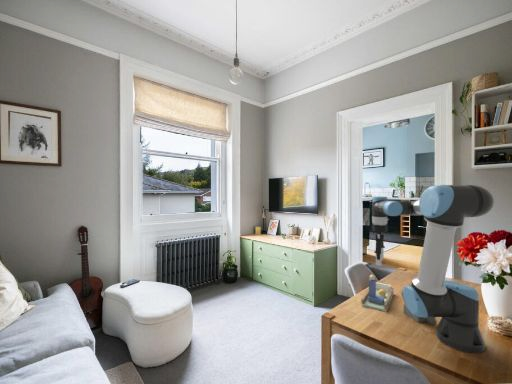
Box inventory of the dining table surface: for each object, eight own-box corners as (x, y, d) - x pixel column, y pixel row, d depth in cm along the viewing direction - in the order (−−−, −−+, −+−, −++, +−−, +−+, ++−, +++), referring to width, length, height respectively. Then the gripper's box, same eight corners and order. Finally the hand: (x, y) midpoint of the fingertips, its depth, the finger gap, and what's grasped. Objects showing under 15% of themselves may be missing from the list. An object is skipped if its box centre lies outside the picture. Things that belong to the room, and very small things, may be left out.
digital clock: (438, 325, 113) (438, 302, 113) (419, 326, 113) (419, 302, 113) (414, 309, 130) (414, 288, 130) (397, 309, 129) (397, 288, 129)
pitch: (386, 311, 127) (386, 299, 127) (361, 305, 133) (361, 294, 133) (393, 294, 149) (393, 283, 149) (371, 289, 156) (371, 279, 156)
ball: (385, 298, 140) (385, 291, 140) (377, 296, 143) (377, 289, 143) (386, 295, 143) (386, 288, 143) (379, 294, 146) (379, 287, 146)
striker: (382, 304, 132) (382, 278, 132) (368, 301, 136) (368, 275, 136) (384, 300, 137) (384, 275, 137) (370, 297, 141) (370, 272, 141)
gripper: (385, 227, 126) (385, 269, 126) (388, 222, 148) (388, 258, 148) (369, 226, 130) (369, 266, 130) (374, 221, 152) (374, 256, 152)
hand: (379, 262), depth 139 cm, fingers open, 13 cm apart
